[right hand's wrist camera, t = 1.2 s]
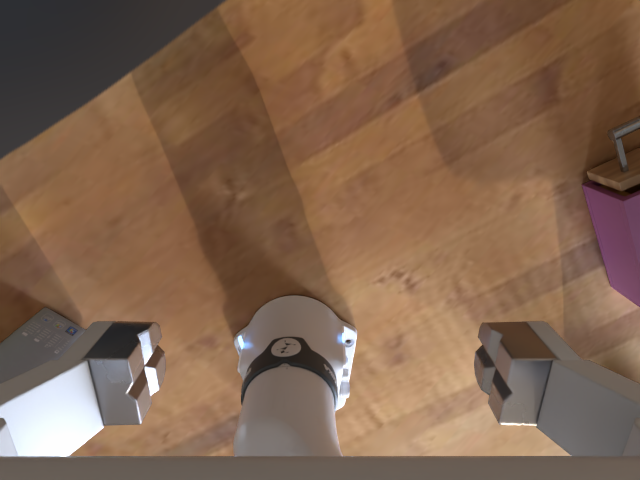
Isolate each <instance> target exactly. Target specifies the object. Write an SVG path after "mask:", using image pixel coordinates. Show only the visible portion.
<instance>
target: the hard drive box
mask: <svg viewBox="0 0 640 480" xmlns="http://www.w3.org/2000/svg"><path fill="white" fill-rule="evenodd" d="M85 331H86V330H85V329H83V328H82V327H80V326H78V325H76V324H75V323H73V322H71V321H69V320H68V319H66V318H64V317H62V316H61V315H59V314H57V313H55V312H54V311H52V310H50V309H48V308H46V307H44V308H43V309H42V310H40V311H39V312H38V313H37V314H35V315H34V316H33V317H32V318H30V319H29V320H28V321H27V322H26V323H24V324H23V325H22V326H21V327H19V328H18V329H17V330H16V331H15V332H13V333H12V334H11V335H10V336H9V337H7V338H6V339H5V340H4V341H3V342H1V343H0V384H1V383H3V382H5V381H7V380H10V379H12V378H14V377H16V376H18V375H20V374H22V373H25V372H27V371H29V370H31V369H33V368H35V367H37V366H40V365H42V364H44V363H46V362H48V361H50V360H58V359H59V358H60V357H61V356H62V355H63V354H64V353H65V352H66V351H67V350H68V349H69V348H70V346H71V345H72V344H73V343H74V342H75V341H76V340H77V339H78V338H79V337H80V336H81V335H82V334H83V333H84V332H85Z"/></svg>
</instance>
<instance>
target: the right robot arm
mask: <svg viewBox="0 0 640 480" xmlns="http://www.w3.org/2000/svg"><path fill="white" fill-rule="evenodd" d="M161 338H162V334H161V330H160V325H159V324H158V323H157V322H128V321H117V322H116V321H97V322H93V323H92V324H91V325H90V326H89V327H88V328H87V329H86V331H85V332H84V333H83V334H82V335H81V336H80V337H79V338H78V339H77V340H76V341H75V342H74V343H73V344H72V345H71V346H70V348H69V349H68V350H67V351H66V352H65V353H64V354H63V355H62V356H61V357H60V358H59V359H58V360H50V361H48V362H46V363H44V364H42V365H40V366H37V367H35V368H33V369H31V370H29V371H27V372H25V373H22V374H20V375H18V376H16V377H14V378H12V379H10V380H7V381H5V382H3V383H1V384H0V480H640V384H639V383H637V382H635V381H632V380H630V379H628V378H626V377H624V376H622V375H620V374H618V373H615V372H613V371H611V370H609V369H607V368H605V367H603V366H600V365H598V364H596V363H594V362H592V361H590V360H582V359H581V358H580V357H579V356H578V355H577V354H576V353H575V352H574V351H573V350H572V349H571V347H570V346H569V345H568V344H567V343H566V342H565V341H564V340H563V339H562V338H561V337H560V336H559V335H558V334H557V333H556V332H555V330H554V329H553V328H552V327H551V326H550V325H549V324H548V323H546V322H544V321H525V322H492V323H482V324H481V326H480V329H479V334H478V338H479V339H480V341H481V343H482V344H483V345H482V346H481V347H480V348H479V349H478V350H477V351H476V352H475V360H474V368H475V376H476V379H477V382H478V384H479V386H480V388H481V390H482V391H484V392H485V393H487V394H488V395H489V401H488V404H489V406H490V408H491V410H492V412H493V413H494V415H495V417H496V419H497V421H498V423H499V424H501V425H537V426H536V427H537V428H538V429H539V430H540V431H542V432H543V433H544V434H545V435H547V436H548V437H549V438H550V439H551V440H553V441H554V442H555V443H556V444H558V445H559V446H560V447H561V448H563V449H564V450H565V451H566V452H568V453H569V454H570V455H571V456H343V455H342V453H341V450H340V447H339V442H338V437H337V430H336V422H335V411H336V410H338V409H339V408H341V407H343V406H344V404H345V399H346V398H347V397H349V391H350V384H349V377H350V372H351V366H352V361H353V355H354V350H355V344H356V339H357V330H356V328H355V327H353V326H352V325H350V324H348V323H346V322H344V321H342V320H340V319H339V318H338V317H337V316H336V315H335V313H334V312H333V311H332V310H331V309H330V308H329V307H327V306H326V305H325V304H323V303H321V302H320V301H318V300H315V299H313V298H309V297H305V296H296V295H293V296H284V297H280V298H276V299H274V300H272V301H270V302H268V303H266V304H265V305H263V306H262V307H261V308H260V309H259V310H258V311H257V312H256V313H255V315H254V316H253V318H252V320H251V322H250V323H249V325H248V326H247V327H245V328H244V329H242V330H241V331H239V332H238V333H237V334H236V335H235V338H234V345H235V347H236V350H237V352H238V354H239V362H238V372H239V373H240V374H241V377H242V379H243V384H242V391H241V393H242V394H241V404H242V408H241V412H240V416H239V420H238V425H237V429H236V433H235V438H234V443H233V448H234V456H69V455H70V454H71V453H73V452H74V451H75V450H76V449H78V448H79V447H80V446H81V445H82V444H84V443H85V442H86V441H87V440H89V439H90V438H91V437H92V436H94V435H95V434H96V433H97V432H99V431H100V430H101V429H102V428H104V426H103V425H137V424H141V423H142V421H143V419H144V417H145V415H146V413H147V412H148V410H149V408H150V406H151V404H152V401H151V395H152V394H153V393H155V392H156V391H158V390H159V388H160V386H161V384H162V382H163V379H164V375H165V370H166V359H165V352H164V351H163V350H162V349H161V348H160V347H159V346H158V345H157V344H158V343H159V341H160V339H161ZM347 339H349V340H350V341H346V340H347Z"/></svg>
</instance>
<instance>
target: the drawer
mask: <svg viewBox="0 0 640 480" xmlns="http://www.w3.org/2000/svg"><path fill="white" fill-rule="evenodd" d="M638 129H640V116H638V117H636V118H634V119H632V120H630V121H628V122H626V123H623V124H621V125H619V126H617V127H615V128H613V129H611V130H609V131H608V133H607V134H608V137H609V138H610V139H611V140H612V141H613V142H614V146H615V150H616V154H617V158H615V159H613V160H611V161H608V162H606V163H604V164H602V165H600V166H597V167H595V168H593V169H591V170H589V171H587V174H588V178H589V179H590V180H592V181H595V182H598V183H600V184H602V185H600V186H599V187H601V188H604V189H606V190H609V191H612V192H614V193H617V194H619V195H622V196H625V197H626V196H628V195H630V194H633V193H635V192H637V191H640V147H639V148H637V149H635V150H633V151H630V152H628V153H626V154H625V152H624V148H623V144H622V140H621V137H623V136H625V135H628V134H630V133H632V132H634V131H636V130H638Z"/></svg>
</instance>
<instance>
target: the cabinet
mask: <svg viewBox="0 0 640 480" xmlns="http://www.w3.org/2000/svg"><path fill="white" fill-rule="evenodd" d="M600 185H602V184H600V183H598V182H595V181H592V180H591V181H588V182H586V183H584V184H582V188H583V191H584V195H585V198H586V202H587V205H588V209H589V212H590V215H591V219H592V222H593V226H594V229H595V233H596V236H597V240H598V243H599V247H600V250H601V254H602V257H603V261H604V264H605V267H606V271H607V274H608V278H609V281H610V285H611V287H612V288H614V289H615V290H616V291H618V292H619V293H621V294H622V295H623V296H625V297H626V298H628V299H629V300H630V301H632V302H633V303H635V304H636V305H637V306H639V307H640V191H637V192H635V193H633V194H630V195H628V196H626V197H625V196H622V195H619V194H617V193H614V192H612V191H609V190H606V189H604V188H601V187H599V186H600Z"/></svg>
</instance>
